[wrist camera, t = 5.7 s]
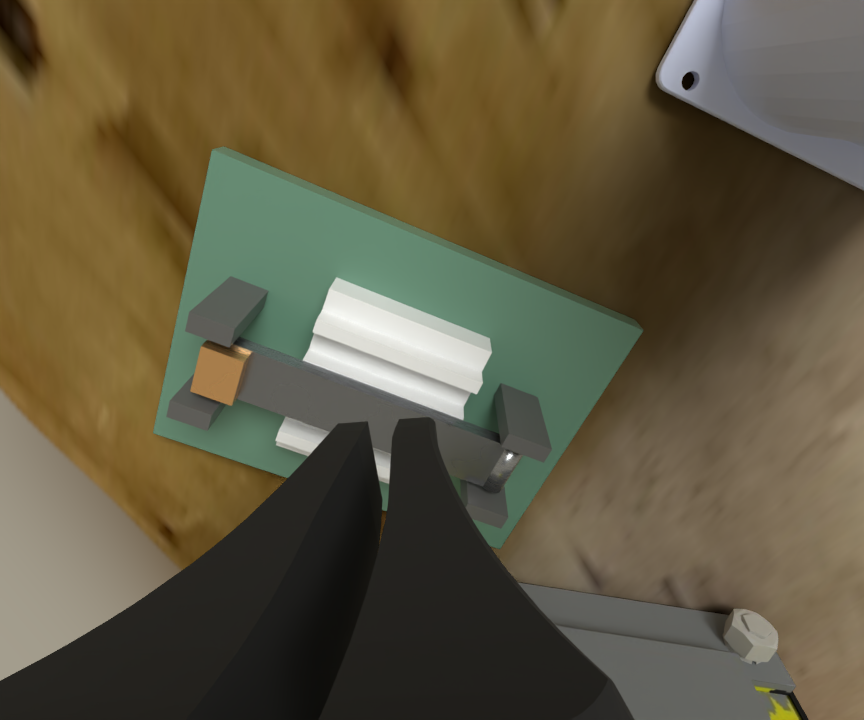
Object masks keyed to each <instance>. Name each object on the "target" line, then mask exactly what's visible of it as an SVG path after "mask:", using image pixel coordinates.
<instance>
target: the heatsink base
mask: <svg viewBox="0 0 864 720" xmlns="http://www.w3.org/2000/svg"><path fill="white" fill-rule="evenodd" d="M643 331H644V330H643V329H642V328H641V326H640V325H639V324H638V323H637V321H636V320H634V319H632V318H630V317H627V316H625V315H623V314H620V313H618V312H616V311H613V310H611V309H608V308H606V307H604V306H601V305H599V304H597V303H594V302H592V301H589V300H587V299H585V298H582V297H580V296H578V295H575V294H573V293H570V292H568V291H566V290H563V289H561V288H559V287H556V286H554V285H551V284H549V283H547V282H544V281H542V280H540V279H537V278H535V277H532V276H530V275H528V274H525V273H523V272H521V271H518V270H516V269H513V268H511V267H509V266H506V265H504V264H502V263H499V262H497V261H495V260H492V259H490V258H487V257H485V256H483V255H480V254H478V253H476V252H473V251H471V250H468V249H466V248H464V247H461V246H459V245H457V244H454V243H452V242H449V241H447V240H445V239H442V238H440V237H438V236H435V235H433V234H430V233H428V232H426V231H423V230H421V229H419V228H416V227H414V226H411V225H409V224H407V223H404V222H402V221H400V220H397V219H395V218H393V217H390V216H388V215H385V214H383V213H381V212H378V211H376V210H374V209H371V208H369V207H366V206H364V205H362V204H359V203H357V202H355V201H352V200H350V199H347V198H345V197H343V196H340V195H338V194H336V193H333V192H331V191H328V190H326V189H324V188H321V187H319V186H317V185H314V184H312V183H309V182H307V181H305V180H302V179H300V178H298V177H295V176H293V175H290V174H288V173H286V172H283V171H281V170H279V169H276V168H274V167H272V166H269V165H267V164H264V163H262V162H260V161H257V160H255V159H253V158H250V157H248V156H245V155H243V154H241V153H238V152H236V151H234V150H231V149H229V148H226V147H220V148H216V149H212V153H211V158H210V162H209V167H208V172H207V177H206V182H205V186H204V191H203V196H202V201H201V206H200V210H199V215H198V220H197V225H196V230H195V234H194V239H193V244H192V249H191V254H190V258H189V263H188V268H187V273H186V278H185V282H184V287H183V292H182V297H181V301H180V306H179V311H178V316H177V321H176V325H175V330H174V335H173V340H172V345H171V349H170V354H169V359H168V364H167V369H166V373H165V378H164V383H163V388H162V393H161V397H160V402H159V407H158V412H157V417H156V421H155V426H154V431H153V433H154V434H157V435H160V436H163V437H166V438H169V439H172V440H175V441H178V442H181V443H184V444H187V445H190V446H193V447H196V448H199V449H202V450H205V451H208V452H211V453H214V454H217V455H220V456H223V457H226V458H229V459H232V460H235V461H238V462H241V463H244V464H247V465H250V466H253V467H256V468H259V469H262V470H265V471H268V472H271V473H274V474H277V475H280V476H283V477H286V478H289V477H290V475H291V474H292V473H293V472H294V471H295V470H296V469H297V468H298V467H299V466H300V465H301V464H302V463H303V462H304V460H305V459H306V458H307V457H308V456H309V455H310V454H311V453H312V452H313V450H314V449H315V448H316V447H317V446H318V445H319V444H320V443H321V442H322V441H323V439H324V438H325V437H326V436H327V435H328V434H329V433H330V432H328V431H325V430H323V429H320V428H317V427H314V426H311V425H309V424H306V423H303V422H300V421H297V420H295V419H292V418H289V417H286V416H283V415H281V414H278V413H275V412H272V411H269V410H267V409H264V408H261V407H258V406H255V405H253V404H250V403H247V402H244V401H241V400H239V399H236V401H235V402H234V403H233V405H232V406H230V405H227V404H224V403H222V402H219V401H216V400H213V399H210V398H207V397H205V396H202V395H199V394H196V393H193V392H191V391H190V390H191V386H192V382H193V377H194V373H195V369H196V365H197V361H198V356H199V352H200V348H201V346H202V345H203V344H204V342H205V341H206V340H210V341H213V342H215V343H218V344H221V345H224V346H226V347H229V348H230V347H231V346H232V344H233V343H234V342H235V341H236V340H237V339H238V337H242V338H244V339H247V340H250V341H252V342H255V343H258V344H260V345H263V346H266V347H268V348H271V349H274V350H276V351H279V352H282V353H284V354H287V355H290V356H292V357H295V358H298V359H300V360H303V361H306V362H308V363H311V364H314V365H316V366H319V367H322V368H325V369H327V370H330V371H333V372H335V373H338V374H341V375H343V376H346V377H349V378H351V379H354V380H357V381H359V382H362V383H365V384H367V385H370V386H373V387H375V388H378V389H381V390H383V391H386V392H389V393H391V394H394V395H397V396H399V397H402V398H405V399H407V400H410V401H413V402H415V403H418V404H421V405H423V406H426V407H429V408H431V409H434V410H437V411H439V412H442V413H445V414H448V415H450V416H453V417H456V418H458V419H461V420H464V421H466V422H469V423H472V424H474V425H477V426H480V427H482V428H485V429H488V430H490V431H493V432H496V433H498V434H499V435H500V442H501V447H502V448H505V449H508V450H510V451H513V452H516V453H519V454H521V455H523V456H522V458H521V459H520V461H519V463H518V464H517V466H516V467H515V469H514V471H513V472H512V474H511V476H510V477H509V479H508V480H507V482H506V484H505V485H504V487H503V489H502V490H501V492H499V493H492V492H489V491H487V490H486V489H485V488H484V487H482V486H479V485H477V484H474V483H471V482H468V481H465V480H463V479H460V478H457V477H454V476H451V475H449V476H450V478H451V480H452V483H453V485H454V487H455V489H456V491H457V493H458V495H459V497H460V499H461V500H462V502H463V504H464V506H465V508H466V510H467V511H468V513H469V515H470V516H471V518H472V520H473V522H474V523H475V525H476V526H477V528H478V530H479V531H480V533H481V534H482V536H483V537H484V539H485V540H486V542H487V543H488V545H489V546H492V547H495V548H498V549H500V548H501V547H502V545H503V544H504V542H505V541H506V539H507V538H508V536H509V535H510V533H511V532H512V530H513V528H514V527H515V525H516V524H517V522H518V521H519V519H520V518H521V516H522V515H523V513H524V512H525V510H526V509H527V507H528V506H529V504H530V503H531V501H532V500H533V498H534V497H535V495H536V493H537V492H538V490H539V489H540V487H541V486H542V484H543V483H544V481H545V480H546V478H547V477H548V475H549V474H550V472H551V471H552V469H553V468H554V466H555V465H556V463H557V462H558V460H559V458H560V457H561V455H562V454H563V452H564V451H565V449H566V448H567V446H568V445H569V443H570V442H571V440H572V439H573V437H574V436H575V434H576V433H577V431H578V430H579V428H580V427H581V425H582V424H583V422H584V420H585V419H586V417H587V416H588V414H589V413H590V411H591V410H592V408H593V407H594V405H595V404H596V402H597V401H598V399H599V398H600V396H601V395H602V393H603V392H604V390H605V389H606V387H607V385H608V384H609V382H610V381H611V379H612V378H613V376H614V375H615V373H616V372H617V370H618V369H619V367H620V366H621V364H622V363H623V361H624V360H625V358H626V357H627V355H628V354H629V352H630V350H631V349H632V347H633V346H634V344H635V343H636V341H637V340H638V338H639V337H640V335H641V334H642V332H643ZM373 451H374V457H375V462H376V467H377V473H378V478H379V484H380V489H381V494H382V500H383V502H382V510H384V511H387V507H388V495H389V478H390V461H391V454H390V453H387V452H384V451H381V450H379V449H376V448H373Z"/></svg>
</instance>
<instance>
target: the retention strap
mask: <svg viewBox="0 0 864 720" xmlns="http://www.w3.org/2000/svg"><path fill="white" fill-rule="evenodd" d="M190 391H191V392H193V393H196V394H199V395H202V396H205V397H207V398H210V399H213V400H216V401H219V402H222V403H224V404H227V405H230V406H232V405H233V403H234V402H235V401H236V399H239V400H241V401H244V402H247V403H250V404H253V405H255V406H258V407H261V408H264V409H267V410H269V411H272V412H275V413H278V414H281V415H283V416H286V417H289V418H292V419H295V420H297V421H300V422H303V423H306V424H309V425H311V426H314V427H317V428H320V429H323V430H325V431H328V432H331V431H332V430H333V428H334V427H335V426H336V425H337V424H338V423H351V422H365V421H368V424H369V430H370V435H371V441H372V446H373V448H376V449H379V450H381V451H384V452H387V453H390V454H391V446H392V436H393V433H394V430H395V427H396V425H397V422H398V420H399V419H407V418H421V417H430V418H431V419H433V420H434V421H435V423H436V431H437V440H438V447H439V450H440V453H441V456H442V459H443V462H444V464H445V466H446V469H447V471H448V473H449V475H451V476H454V477H457V478H460V479H463V480H465V481H468V482H471V483H474V484H477V485H479V486H482V487H484V488H485V489H486V490H487V491H489V492H492V493H499V492H501V490H502V489H503V487H504V485H505V484H506V482H507V480H508V479H509V477H510V476H511V474H512V472H513V471H514V469H515V467H516V466H517V464H518V463H519V461H520V459H521V458H522V456H523V455H521V454H519V453H516V452H513V451H510V450H508V449H505V448H502V447H501V442H500V435H499V434H498V433H496V432H493V431H490V430H488V429H485V428H482V427H480V426H477V425H474V424H472V423H469V422H466V421H464V420H461V419H458V418H456V417H453V416H450V415H448V414H445V413H442V412H439V411H437V410H434V409H431V408H429V407H426V406H423V405H421V404H418V403H415V402H413V401H410V400H407V399H405V398H402V397H399V396H397V395H394V394H391V393H389V392H386V391H383V390H381V389H378V388H375V387H373V386H370V385H367V384H365V383H362V382H359V381H357V380H354V379H351V378H349V377H346V376H343V375H341V374H338V373H335V372H333V371H330V370H327V369H325V368H322V367H319V366H316V365H314V364H311V363H308V362H306V361H303V360H300V359H298V358H295V357H292V356H290V355H287V354H284V353H282V352H279V351H276V350H274V349H271V348H268V347H266V346H263V345H260V344H258V343H255V342H252V341H250V340H247V339H244V338H242V337H238V339H237V340H236V341H235V342H234V343H233V344H232V346H231V347H230V348H229V347H226V346H224V345H221V344H218V343H215V342H213V341H210V340H206V341H205V342H204V344H203V345H202V346H201V348H200V352H199V356H198V361H197V365H196V369H195V373H194V377H193V382H192V386H191V390H190Z"/></svg>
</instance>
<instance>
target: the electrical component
mask: <svg viewBox="0 0 864 720" xmlns="http://www.w3.org/2000/svg"><path fill="white" fill-rule="evenodd" d="M518 584H519V585H520V586H521V587H522V588H523V590H524V591H525V592H526V593H527V594H528V596H529V597H530V598H531V599H532V600H533V602H534V603H535V604H536V605H537V606H538V607H539V609H540V610H541V611H542V612H543V613H544V614H545V615H546V616H547V617H548V618H549V619H550V620H551V621H552V622H553V623H554V624H555V625H556V627H557V628H558V629H559V630H560V631H561V632H562V633H563V634H564V635H565V636H566V637H567V638H568V639H569V640H570V641H571V642H572V643H573V644H574V645H575V646H576V647H577V648H578V649H579V650H580V651H581V652H583V653H584V654H585V655H586V656H587V657H588V658H589V659H590V660H591V661H592V662H593V663H594V664H595V665H596V666H598V667H599V668H600V669H601V670H602V671H603V672H604V673H605V674H606V675H607V676H608V677H609V678H611V680H612V681H613V682H614V684H615V686H616V687H617V689H618V691H619V693H620V694H621V696H622V698H623V700H624V702H625V703H626V705H627V707H628V709H629V710H630V712H631V714H632V716H633V718H634V720H808V718H807V716H806V714H805V712H804V711H803V709H802V707H801V705H800V704H799V702H798V700H797V698H796V696H795V695H794V693H793V690H794V689H795V687H796V685H795V684H794V682H793V680H792V678H791V677H790V675H789V673H788V671H787V670H786V668H785V666H784V664H783V663H782V661H781V659H780V658H779V656H778V654H777V652H776V651H777V647H778V632H777V631H776V630H775V629H774V627H773V626H772V625H771V624H770V623H769V621H767V620H766V619H765V618H763V617H762V616H760V615H759V614H758V613H756V612H753V611H750V610H746V609H733V611H732V612H731V614H730V615H724V614H718V613H711V612H705V611H698V610H692V609H685V608H679V607H673V606H666V605H660V604H653V603H647V602H640V601H634V600H627V599H621V598H615V597H608V596H602V595H595V594H589V593H582V592H576V591H570V590H563V589H557V588H550V587H544V586H537V585H531V584H524V583H518Z"/></svg>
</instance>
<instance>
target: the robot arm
mask: <svg viewBox="0 0 864 720" xmlns="http://www.w3.org/2000/svg"><path fill="white" fill-rule="evenodd" d="M688 72H691V73H692V74H693V75H694V83H693V85H692V86H691V87H690V89H688V90H685V89H684V88H683V87H682V83H681V82H682V79H683V76H684V75H685V74H686V73H688ZM656 83H657V85H658V87H659V88H660V89H661V90H663V91H664V92H666V93H668V94H670V95H672V96H674V97H676V98H678V99H680V100H682V101H684V102H686V103H688V104H690V105H692V106H694V107H696V108H698V109H700V110H702V111H704V112H706V113H708V114H710V115H712V116H715V117H717V118H719V119H721V120H723V121H725V122H727V123H729V124H731V125H733V126H735V127H737V128H739V129H741V130H743V131H745V132H747V133H749V134H751V135H753V136H755V137H757V138H759V139H761V140H763V141H765V142H767V143H769V144H771V145H773V146H775V147H777V148H779V149H781V150H783V151H785V152H787V153H789V154H791V155H793V156H795V157H797V158H799V159H801V160H803V161H805V162H807V163H809V164H811V165H813V166H815V167H817V168H819V169H821V170H823V171H825V172H827V173H829V174H831V175H833V176H835V177H837V178H839V179H841V180H843V181H845V182H847V183H849V184H851V185H853V186H855V187H857V188H859V189H861V190H863V191H864V0H694V1H693V3H692V5H691V7H690V8H689V10H688V12H687V14H686V16H685V18H684V20H683V22H682V23H681V25H680V27H679V29H678V31H677V33H676V35H675V36H674V38H673V40H672V42H671V44H670V46H669V48H668V49H667V51H666V53H665V55H664V57H663V59H662V61H661V63H660V64H659V66H658V69H657V72H656ZM382 502H383V500H382V494H381V489H380V484H379V478H378V473H377V467H376V462H375V457H374V451H373V446H372V441H371V435H370V430H369V424H368V421H365V422H351V423H338V424H337V425H336V426H335V427H334V428H333V430H332V431H331V432H330V433H329V434H328V435H327V436H326V437H325V438H324V439H323V441H322V442H321V443H320V444H319V445H318V446H317V447H316V448H315V449H314V450H313V452H312V453H311V454H310V455H309V456H308V457H307V458H306V459H305V460H304V462H303V463H302V464H301V465H300V466H299V467H298V468H297V469H296V470H295V471H294V472H293V473H292V474H291V475H290V477H289V478H288V479H287V480H286V481H285V482H284V483H283V484H282V485H281V486H280V487H279V488H278V489H277V490H276V491H275V492H274V493H273V494H272V495H271V496H270V497H269V498H267V499H266V500H265V501H264V502H263V503H262V504H261V505H260V506H259V507H258V508H257V509H256V510H255V511H254V512H253V513H252V514H251V515H250V516H249V517H248V518H247V519H246V520H244V521H243V522H242V523H241V524H240V525H239V526H238V527H237V528H235V529H234V530H233V531H232V532H231V533H229V534H228V535H227V536H226V537H225V538H224V539H222V540H221V541H220V542H219V543H217V544H216V545H215V546H214V547H212V548H211V549H210V550H209V551H207V552H206V553H205V554H204V555H202V556H201V557H200V558H199V559H197V560H196V561H195V562H193V563H192V564H191V565H189V566H188V567H186V568H185V569H184V570H182V571H181V572H179V573H178V574H176V575H175V576H174V577H172V578H171V579H169V580H168V581H167V582H165V583H164V584H162V585H161V586H160V587H158V588H157V589H155V590H154V591H152V592H151V593H149V594H148V595H147V596H145V597H144V598H142V599H141V600H139V601H138V602H136V603H135V604H133V605H132V606H130V607H129V608H127V609H126V610H124V611H122V612H121V613H119V614H117V615H116V616H114V617H113V618H111V619H110V620H108V621H106V622H105V623H103V624H102V625H100V626H98V627H96V628H95V629H93V630H91V631H90V632H88V633H86V634H85V635H83V636H81V637H80V638H78V639H76V640H75V641H73V642H71V643H69V644H68V645H66V646H64V647H62V648H61V649H59V650H57V651H55V652H54V653H52V654H50V655H48V656H46V657H44V658H43V659H41V660H39V661H37V662H35V663H33V664H31V665H29V666H27V667H26V668H24V669H22V670H20V671H18V672H16V673H14V674H12V675H11V676H9V677H7V678H5V679H3V680H1V681H0V720H634V718H633V716H632V714H631V712H630V710H629V709H628V707H627V705H626V703H625V702H624V700H623V698H622V696H621V694H620V693H619V691H618V689H617V687H616V686H615V684H614V682H613V681H612V680H611V678H609V677H608V676H607V675H606V674H605V673H604V672H603V671H602V670H601V669H600V668H599V667H598V666H596V665H595V664H594V663H593V662H592V661H591V660H590V659H589V658H588V657H587V656H586V655H585V654H584V653H583V652H581V651H580V650H579V649H578V648H577V647H576V646H575V645H574V644H573V643H572V642H571V641H570V640H569V639H568V638H567V637H566V636H565V635H564V634H563V633H562V632H561V631H560V630H559V629H558V628H557V627H556V625H555V624H554V623H553V622H552V621H551V620H550V619H549V618H548V617H547V616H546V615H545V614H544V613H543V612H542V611H541V610H540V609H539V607H538V606H537V605H536V604H535V603H534V602H533V600H532V599H531V598H530V597H529V596H528V594H527V593H526V592H525V591H524V590H523V588H522V587H521V586H520V585H519V584H518V582H517V581H516V580H515V579H514V578H513V577H512V575H511V574H510V573H509V572H508V571H507V569H506V568H505V567H504V565H503V564H502V563H501V561H500V560H499V558H498V557H497V556H496V554H495V553H494V552H493V550H492V549H491V548H490V546H489V545H488V543H487V542H486V540H485V539H484V537H483V536H482V534H481V533H480V531H479V530H478V528H477V526H476V525H475V523H474V522H473V520H472V518H471V516H470V515H469V513H468V511H467V510H466V508H465V506H464V504H463V502H462V500H461V499H460V497H459V495H458V493H457V491H456V489H455V487H454V485H453V483H452V480H451V478H450V476H449V473H448V471H447V469H446V466H445V464H444V462H443V459H442V456H441V453H440V450H439V447H438V440H437V431H436V423H435V421H434V420H433V419H431V418H430V417H421V418H407V419H399V420H398V422H397V425H396V427H395V430H394V433H393V436H392V446H391V461H390V478H389V495H388V507H387V514H386V521H385V525H384V529H383V533H382V537H381V541H380V545H379V540H380V529H381V516H382ZM378 548H379V549H378ZM377 553H378V554H377Z"/></svg>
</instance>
